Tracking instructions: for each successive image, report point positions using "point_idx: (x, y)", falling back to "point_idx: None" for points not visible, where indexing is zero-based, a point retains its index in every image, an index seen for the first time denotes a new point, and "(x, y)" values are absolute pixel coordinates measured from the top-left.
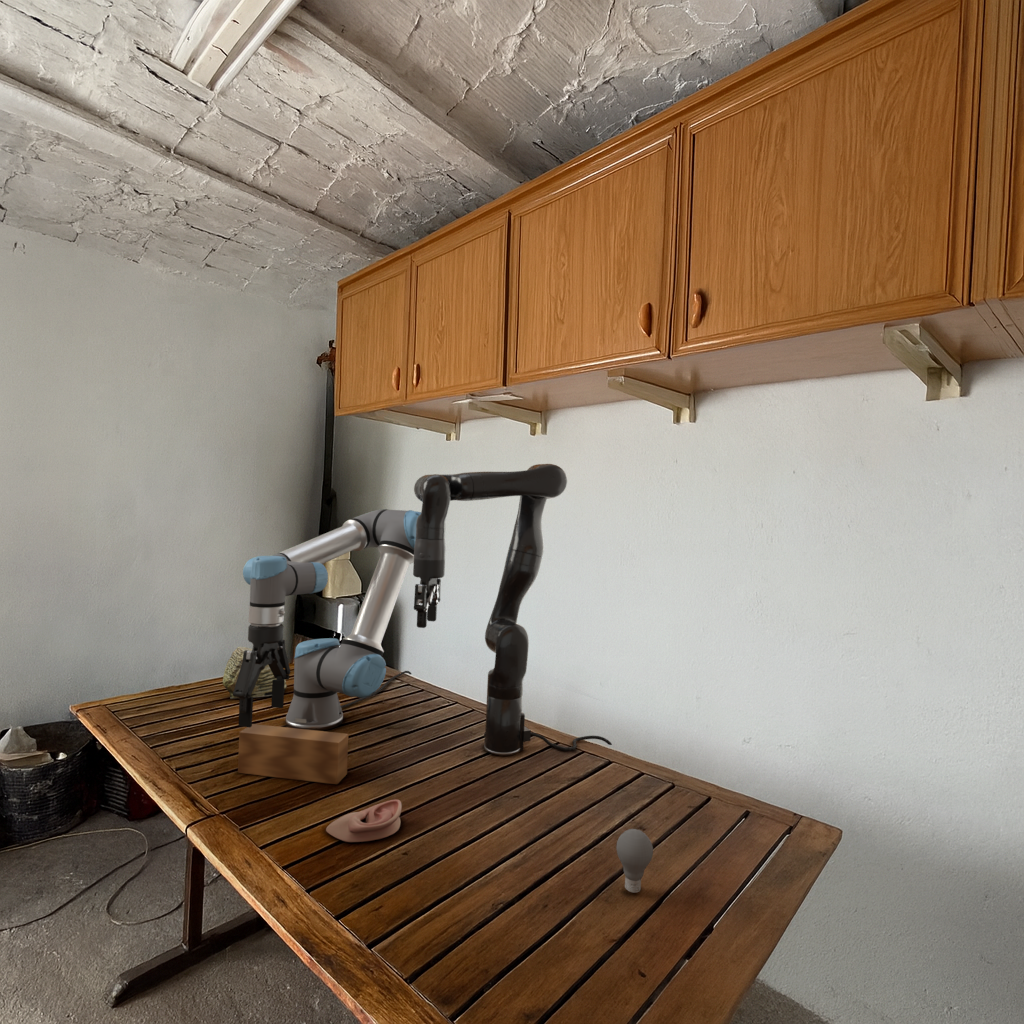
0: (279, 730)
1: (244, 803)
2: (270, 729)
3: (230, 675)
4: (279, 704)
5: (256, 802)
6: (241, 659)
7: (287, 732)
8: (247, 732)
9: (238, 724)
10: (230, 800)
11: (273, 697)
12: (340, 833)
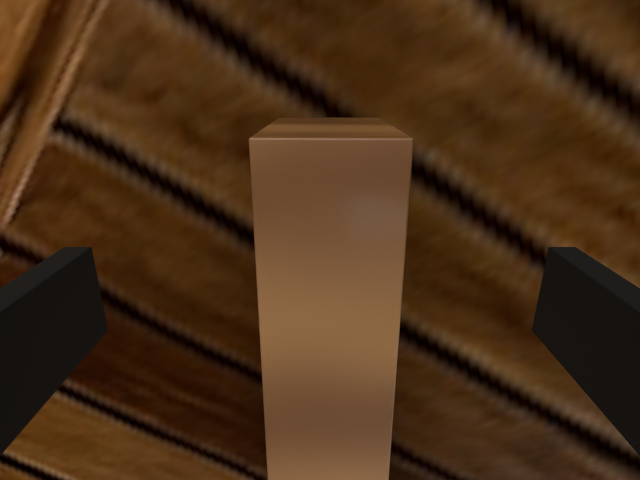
0: (341, 344)
1: None
2: (344, 293)
3: None
4: (550, 327)
5: (103, 304)
6: None
7: (324, 392)
8: (258, 192)
9: (55, 253)
10: (78, 220)
11: (596, 302)
12: None
